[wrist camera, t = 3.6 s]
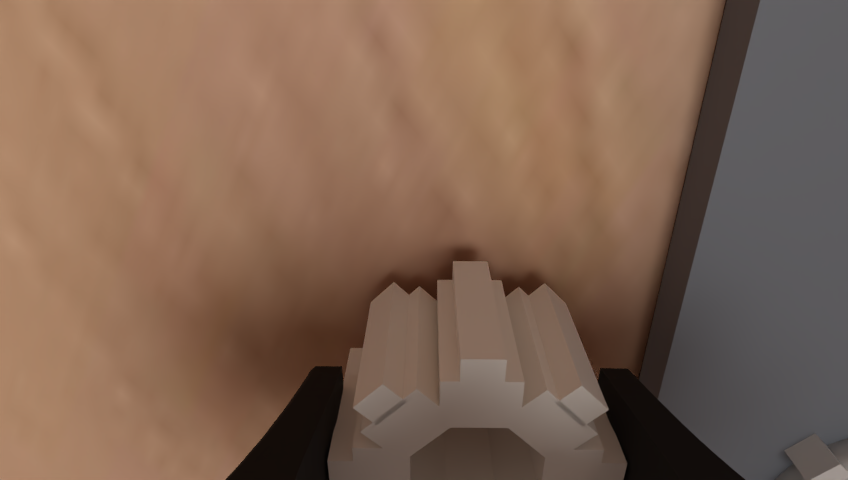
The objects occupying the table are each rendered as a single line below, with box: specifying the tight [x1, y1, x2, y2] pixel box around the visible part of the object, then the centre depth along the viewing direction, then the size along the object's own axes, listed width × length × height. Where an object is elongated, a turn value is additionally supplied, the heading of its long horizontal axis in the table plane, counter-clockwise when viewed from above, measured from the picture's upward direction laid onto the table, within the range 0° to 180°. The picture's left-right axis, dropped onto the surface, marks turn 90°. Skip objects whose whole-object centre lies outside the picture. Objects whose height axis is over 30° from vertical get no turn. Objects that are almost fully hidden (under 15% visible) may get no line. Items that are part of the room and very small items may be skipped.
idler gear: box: [327, 261, 627, 480], centre depth 12 cm, size 6×6×4 cm
